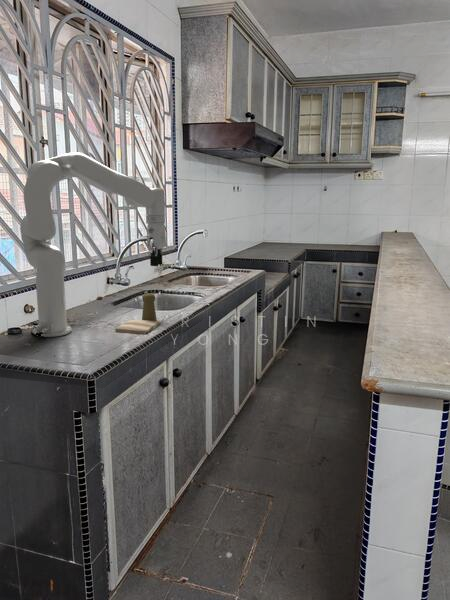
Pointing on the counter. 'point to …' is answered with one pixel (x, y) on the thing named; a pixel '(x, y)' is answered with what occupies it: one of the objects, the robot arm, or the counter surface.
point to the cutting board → (137, 326)
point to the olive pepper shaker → (149, 307)
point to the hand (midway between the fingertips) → (156, 264)
